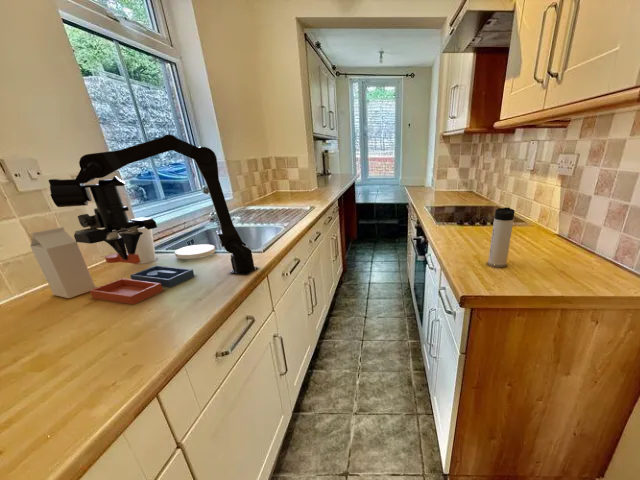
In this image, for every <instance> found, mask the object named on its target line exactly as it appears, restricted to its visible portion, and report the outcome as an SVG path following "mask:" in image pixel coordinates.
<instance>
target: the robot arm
mask: <svg viewBox="0 0 640 480" xmlns="http://www.w3.org/2000/svg"><path fill="white" fill-rule="evenodd" d="M170 151H171V152H172V151H173V152H176V153H178V154H179V155H183V156H185V157H187V158H188V159H189V158H190V159H191V160H193V161H194V163H195V165H196V167H197V168H198V171H199V172H200V174H201V176H202V178H203V179H204V182H205V184H206V187H207V190H208V193H209V196H210V200H211V201H212V205H213V209H214V211H215V214H216V217H217V220H218V223H219V230H215V232H216V235H217V236H218V239H219V241H218V242H219V244H220V246H221V248H224V250H225V251H226V252H228V253H230V263H231V268H232V270H231V271H230V274H234V275H244V276H246V275H249V274H251V273H253V272H254V271H256V270H258V269H259V267H258V266H255V264H254V263H255V262H254V257H253V253H252V251H253V250H252V249H251V248H250V247H249V245H248V244H247V243H246V242H244V241H243V240H242V238H241V236H240V235H239V233H238V230H237V229H236V227H235V225H234V223H233V220H232V218H231V213H230V211H229V207H228V204H227V201H226V198H225V194H224V192H223V188H222V184H221V182H220V178H219V176H220V175H219V167H218V166H219V165H218V157H217V155H216V152H214V151H213V150H212V148H210V147H207V146H196V145H193V144H191V143H189V142H187V141H184V140H182V139H180V138H178V137H176V135H173V134H165V135H163V136H161V137H157V138H155V139H152V140H148V141H145V142H144V141H143V142H142V143H138V144H135V145H131V146H128V147H124V148H121V149H119V150H111V151H102V152H93V153H87V154H84V155H82V156H81V157H80V158H79V160H78V161H79V162H78V164H79V168H80V170H79V172H78V174H77V175H75V177H76V178H66V179H60V178H49V179H48V183H49V191H50V198H51V200H52V201H53V204H54V205H55V206H56V207H57V208H69V207H85V206H89V202H92V200H94V201H93V202H94V203H95V206H96V208H93V212H94V214H93V215H89V214H88V213H83V214H79V215H78V216H77V220H78V222H79V224H80V226H81V227H82V228H83V229H78V230H75V231H74V235H73V239H74V240H75V241H76V242H77V243H81V244H82V243H83V244H91V245H92V244H97V243H100V242H105V243H106V244H108V245H109V246H110V247H111V248H113V250H114V251H115V253H118V254H119V255H120V256H121V257H122V259H123V260H127V253H130V254H135V251H136V247H137V243H138V240H139V238H140V235H142V234H143V233H142V232H139V231H138V228H142V227H145V228H146V229H152V230H153V229H157V228H158V225H157V222H156V220H155V219H153V218H152V217H137V218H132V219H129V217H128V214H127V212H128V211H130V209H129V207H128V206H125V204H124V202H123V199H122V196H121V192H120V189H119V187H125V185H127V183H126V182H125V181H124V180H121V179H120V178H119V177H118V176H117V175H115V176H113V178H112V179H102V178H105V177H107V176H110V175H111V174H113V173H115V172H117V171H118V170H120V169H123V168H124V167H126V166H128V165H131V164H133V163H136V162H139V161H142V160H145V159H148V158H151V157H155V156H157V155H161V154H163V153H167V152H170ZM95 179H98V181H97V183H94V184H93V183H90V182H92V181H94V180H95ZM89 183H90V184H89ZM92 198H93V199H92Z"/></svg>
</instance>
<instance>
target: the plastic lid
mask: <svg viewBox="0 0 640 480" xmlns="http://www.w3.org/2000/svg"><path fill="white" fill-rule="evenodd" d="M215 252H216V246H215V245H214V244H208V243H207V244H205V243H201V244H200V243H199V244H191V245H187V246H182V247H180V248H177V249H176V250H175V251H174V255H175V258H177V259H182V260H190V259H192V260H193V259H198V258H203V257H204V258H205V257H208V256H210V255H213V254H215Z"/></svg>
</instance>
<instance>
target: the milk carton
mask: <svg viewBox="0 0 640 480" xmlns="http://www.w3.org/2000/svg"><path fill="white" fill-rule="evenodd" d="M30 234H31V237H32V238H31V242H30V246H29V247H30V249H31V251H32V253H33V255H34V257H35V260H36V262H37V263H38V266H39V268H40V269H41V272H42V274H43V276H44V279H45V281H46V282H47V284H48V286H49V289H50V290H51V292H52V295H53V296H57V297H62V298H66V299H72V298H75V297H78V296H81V295H82V294H86V293H88V292H89V293H90V291H89V290H92V289H95V288H97V287H96V285H95V283H94V279H93V278H92V275H91V273H90V271H89V268H88V266H87V263H86V261H85V258H84V255H83V253H82V251H81V249H80V247H79V243H78V242H76V240H75V238H74V237H73V236H71V235H70V234H69V233H68V232H67V231H66V230H65V228H64V227H63V226H62V227H61V226H60V227H56V228H50V229H46V230H41V231H34V232H30Z"/></svg>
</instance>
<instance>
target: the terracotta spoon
mask: <svg viewBox="0 0 640 480" xmlns="http://www.w3.org/2000/svg"><path fill="white" fill-rule="evenodd" d="M104 259H105V262H106V263H107V264H116V263H126V264H134V265H136V264H140V263H139V262H140V259H139V256H138V254H130V253H128V252H127V260H123V259H122V257H121V256H120V255H119V254H118V253H117V252H115V253H110V254H108V255H105V256H104Z"/></svg>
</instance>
